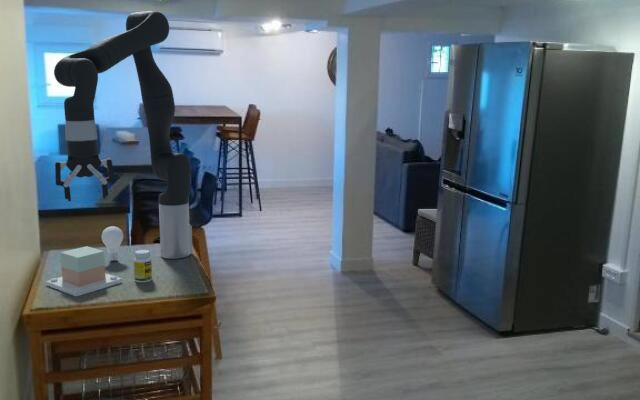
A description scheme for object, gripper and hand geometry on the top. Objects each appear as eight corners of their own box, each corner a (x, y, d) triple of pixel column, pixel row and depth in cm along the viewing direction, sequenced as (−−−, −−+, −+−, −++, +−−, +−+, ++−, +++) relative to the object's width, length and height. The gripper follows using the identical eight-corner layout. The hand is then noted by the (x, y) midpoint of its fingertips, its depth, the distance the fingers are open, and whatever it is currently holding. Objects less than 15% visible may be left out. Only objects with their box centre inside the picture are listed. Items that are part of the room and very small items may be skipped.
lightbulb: (121, 257, 191) (120, 223, 189) (126, 262, 186) (125, 227, 184) (100, 259, 188) (99, 225, 186) (105, 265, 182) (103, 229, 180)
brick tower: (91, 272, 175) (90, 242, 173) (121, 282, 167) (120, 250, 165) (46, 285, 164) (43, 252, 162) (76, 296, 156) (73, 262, 154)
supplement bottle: (147, 283, 167) (145, 254, 165) (131, 282, 168) (130, 253, 166) (155, 278, 171) (154, 249, 170) (139, 277, 172) (138, 248, 171)
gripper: (109, 135, 161) (114, 194, 165) (51, 137, 156) (57, 198, 159) (111, 138, 154) (116, 199, 158) (51, 140, 149) (57, 204, 152)
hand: (86, 199), depth 158 cm, fingers open, 8 cm apart
